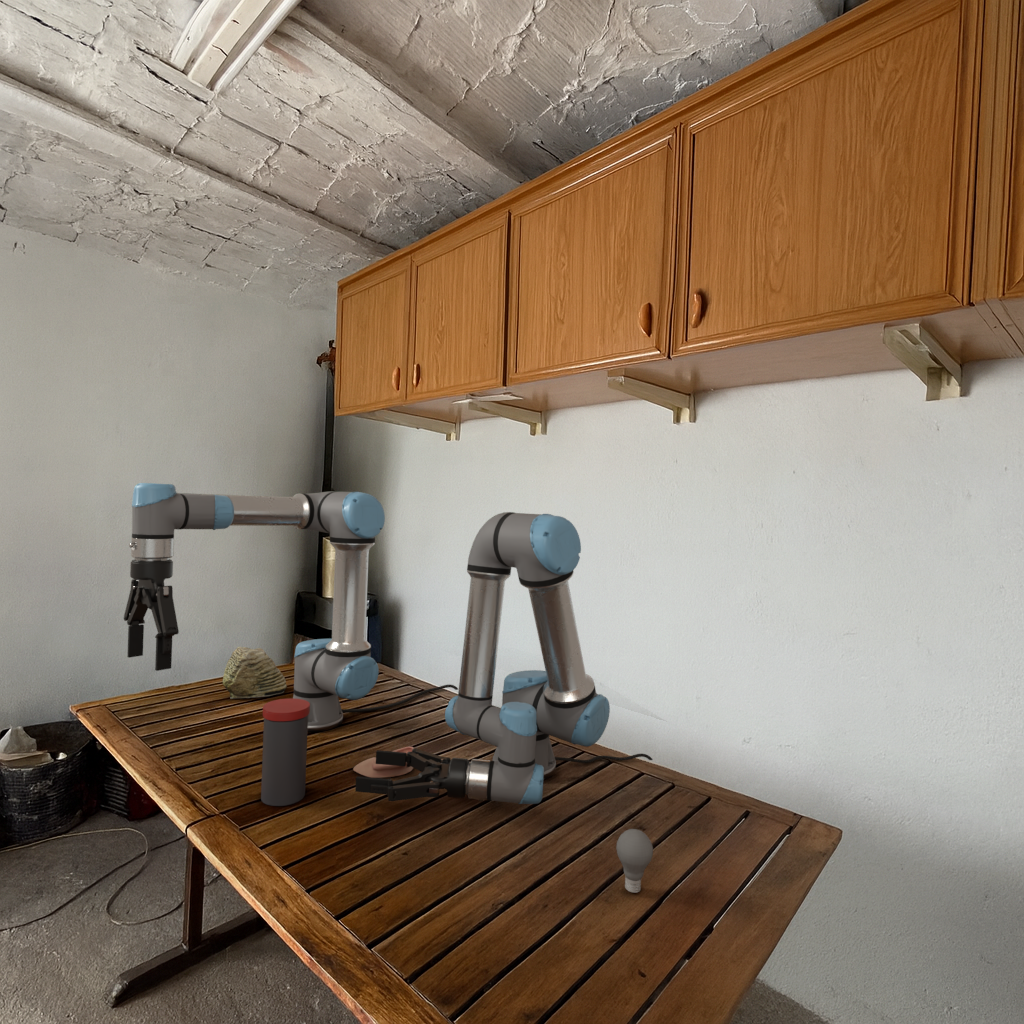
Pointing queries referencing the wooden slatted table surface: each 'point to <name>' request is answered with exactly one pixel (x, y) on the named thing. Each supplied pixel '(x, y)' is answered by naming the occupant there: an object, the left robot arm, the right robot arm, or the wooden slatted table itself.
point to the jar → (284, 761)
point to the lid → (286, 709)
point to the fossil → (252, 674)
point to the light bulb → (634, 857)
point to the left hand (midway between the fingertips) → (148, 662)
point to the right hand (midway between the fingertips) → (366, 769)
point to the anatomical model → (382, 767)
